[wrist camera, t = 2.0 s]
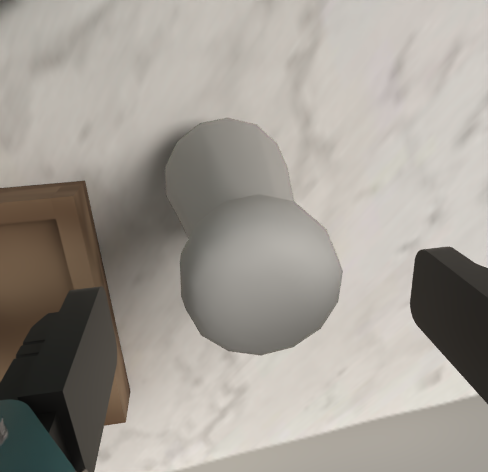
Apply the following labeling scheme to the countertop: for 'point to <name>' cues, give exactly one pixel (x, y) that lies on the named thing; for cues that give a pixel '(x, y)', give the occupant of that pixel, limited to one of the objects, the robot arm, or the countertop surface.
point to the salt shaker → (248, 241)
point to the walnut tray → (49, 268)
